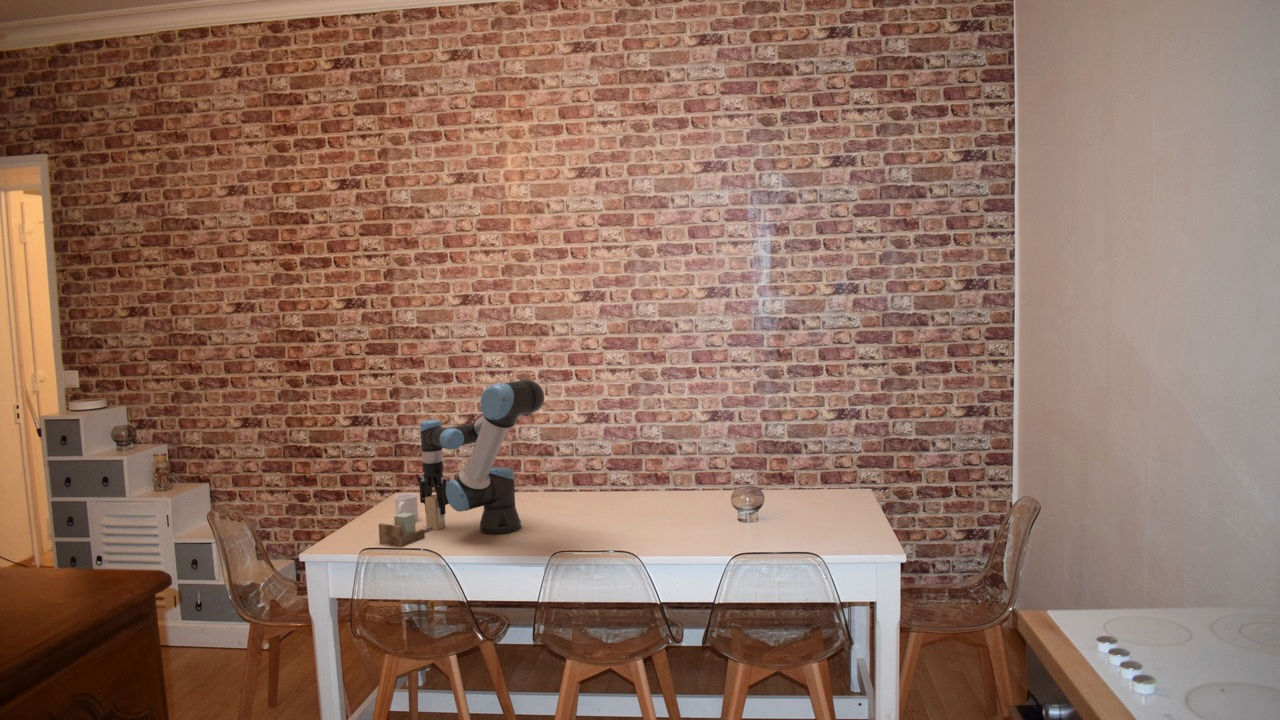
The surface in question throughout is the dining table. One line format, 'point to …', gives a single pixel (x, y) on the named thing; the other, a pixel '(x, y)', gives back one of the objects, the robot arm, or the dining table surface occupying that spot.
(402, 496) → the cup
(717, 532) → the dining table surface
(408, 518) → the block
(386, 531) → the lane
